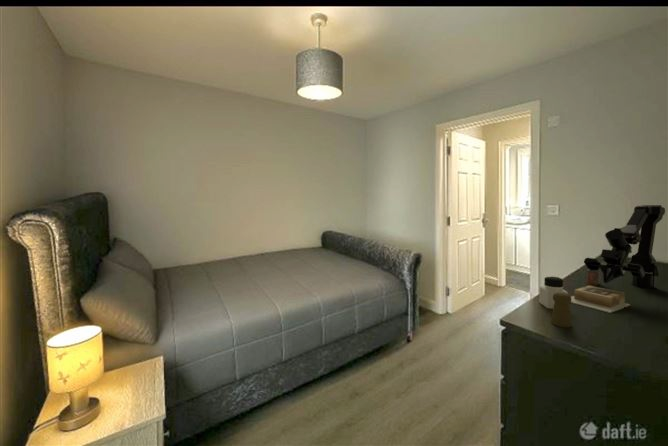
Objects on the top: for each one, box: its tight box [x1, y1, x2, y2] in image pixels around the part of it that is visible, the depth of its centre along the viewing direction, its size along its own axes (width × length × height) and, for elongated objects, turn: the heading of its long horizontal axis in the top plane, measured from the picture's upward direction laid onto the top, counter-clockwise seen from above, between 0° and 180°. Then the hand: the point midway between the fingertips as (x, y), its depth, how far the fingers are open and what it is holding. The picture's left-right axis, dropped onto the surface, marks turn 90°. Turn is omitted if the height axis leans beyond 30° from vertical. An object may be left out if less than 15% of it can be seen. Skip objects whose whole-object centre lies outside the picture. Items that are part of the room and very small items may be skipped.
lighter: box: [586, 268, 600, 287], centre depth 145 cm, size 8×3×10 cm, turn 117°
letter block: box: [573, 285, 626, 308], centre depth 122 cm, size 4×12×12 cm
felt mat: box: [570, 295, 631, 314], centre depth 121 cm, size 16×16×1 cm
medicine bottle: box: [538, 275, 569, 310], centre depth 118 cm, size 7×7×12 cm
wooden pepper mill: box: [550, 293, 573, 328], centre depth 102 cm, size 6×6×11 cm
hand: (605, 282), depth 123 cm, fingers closed
